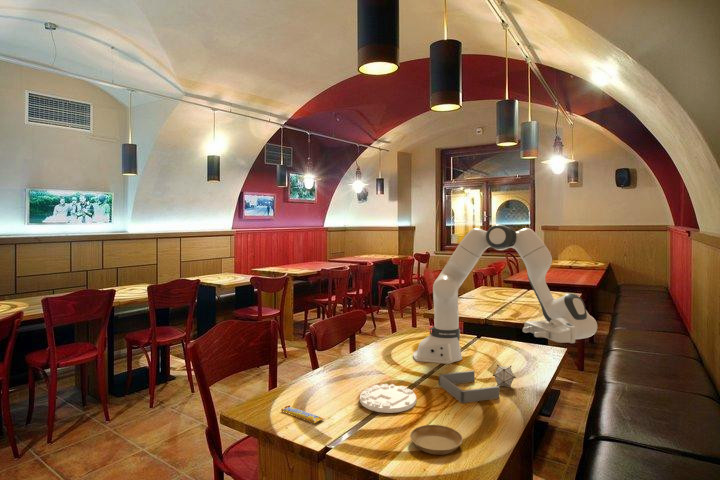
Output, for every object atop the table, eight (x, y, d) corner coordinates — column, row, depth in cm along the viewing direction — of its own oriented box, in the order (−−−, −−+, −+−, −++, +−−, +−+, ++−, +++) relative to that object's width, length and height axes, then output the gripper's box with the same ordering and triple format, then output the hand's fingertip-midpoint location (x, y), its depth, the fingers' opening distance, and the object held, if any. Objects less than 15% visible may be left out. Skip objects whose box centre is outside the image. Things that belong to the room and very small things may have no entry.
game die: (507, 394, 168) (521, 373, 169) (507, 394, 161) (522, 372, 161) (487, 379, 172) (501, 358, 173) (485, 379, 165) (500, 357, 165)
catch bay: (473, 380, 174) (473, 370, 173) (499, 398, 156) (499, 387, 156) (438, 384, 169) (438, 374, 169) (461, 403, 152) (461, 391, 152)
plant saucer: (404, 453, 120) (404, 444, 120) (416, 429, 134) (416, 421, 134) (458, 463, 115) (458, 454, 115) (465, 437, 129) (465, 429, 129)
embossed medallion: (377, 420, 141) (377, 411, 141) (350, 398, 159) (350, 390, 158) (427, 407, 150) (427, 398, 150) (397, 387, 168) (396, 380, 168)
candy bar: (279, 413, 147) (279, 407, 147) (288, 409, 150) (288, 403, 150) (316, 427, 137) (316, 421, 137) (325, 422, 140) (325, 416, 140)
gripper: (541, 316, 183) (513, 318, 179) (578, 327, 163) (547, 330, 159) (541, 331, 183) (513, 333, 179) (578, 344, 163) (547, 347, 160)
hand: (529, 332), depth 169 cm, fingers open, 5 cm apart
